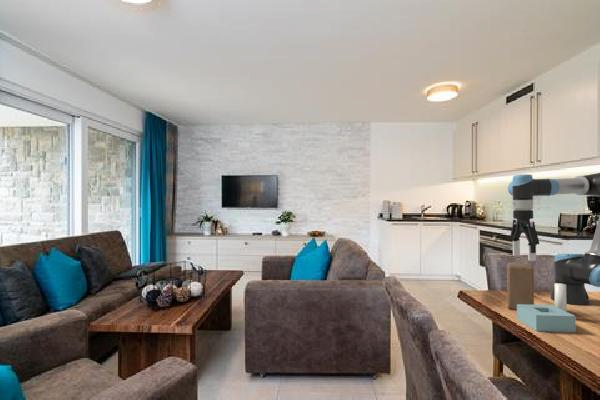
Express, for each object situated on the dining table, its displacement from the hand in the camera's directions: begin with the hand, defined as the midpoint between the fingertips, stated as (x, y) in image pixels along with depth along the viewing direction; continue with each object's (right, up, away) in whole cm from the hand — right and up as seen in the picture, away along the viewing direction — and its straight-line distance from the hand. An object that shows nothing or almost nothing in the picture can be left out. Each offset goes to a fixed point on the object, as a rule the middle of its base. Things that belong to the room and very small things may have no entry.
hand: (524, 257), depth 155 cm
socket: (-1, -24, -15) cm, 29 cm away
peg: (+11, -24, -6) cm, 27 cm away
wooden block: (+3, -24, +6) cm, 25 cm away
